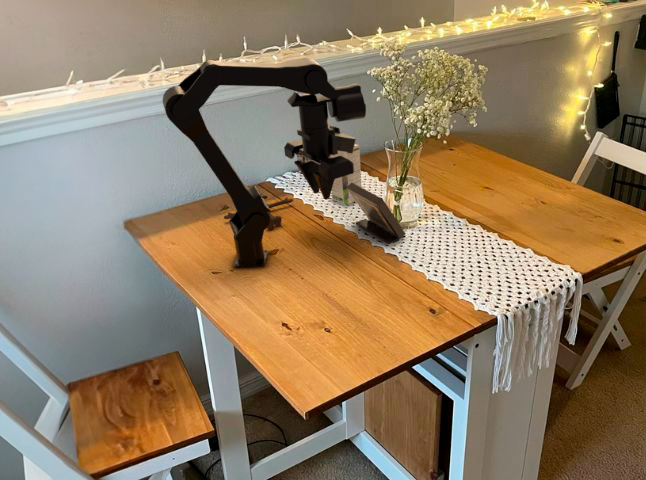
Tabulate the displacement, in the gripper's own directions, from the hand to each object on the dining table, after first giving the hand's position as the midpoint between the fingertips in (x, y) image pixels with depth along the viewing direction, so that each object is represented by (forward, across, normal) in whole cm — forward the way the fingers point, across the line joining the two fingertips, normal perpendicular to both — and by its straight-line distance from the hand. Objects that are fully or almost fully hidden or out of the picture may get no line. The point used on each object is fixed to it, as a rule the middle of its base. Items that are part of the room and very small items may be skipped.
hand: (321, 196), depth 145 cm
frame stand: (+12, -3, -12) cm, 17 cm away
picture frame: (+12, -3, -15) cm, 19 cm away
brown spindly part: (+12, +22, +4) cm, 25 cm away
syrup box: (+12, +18, -17) cm, 28 cm away
